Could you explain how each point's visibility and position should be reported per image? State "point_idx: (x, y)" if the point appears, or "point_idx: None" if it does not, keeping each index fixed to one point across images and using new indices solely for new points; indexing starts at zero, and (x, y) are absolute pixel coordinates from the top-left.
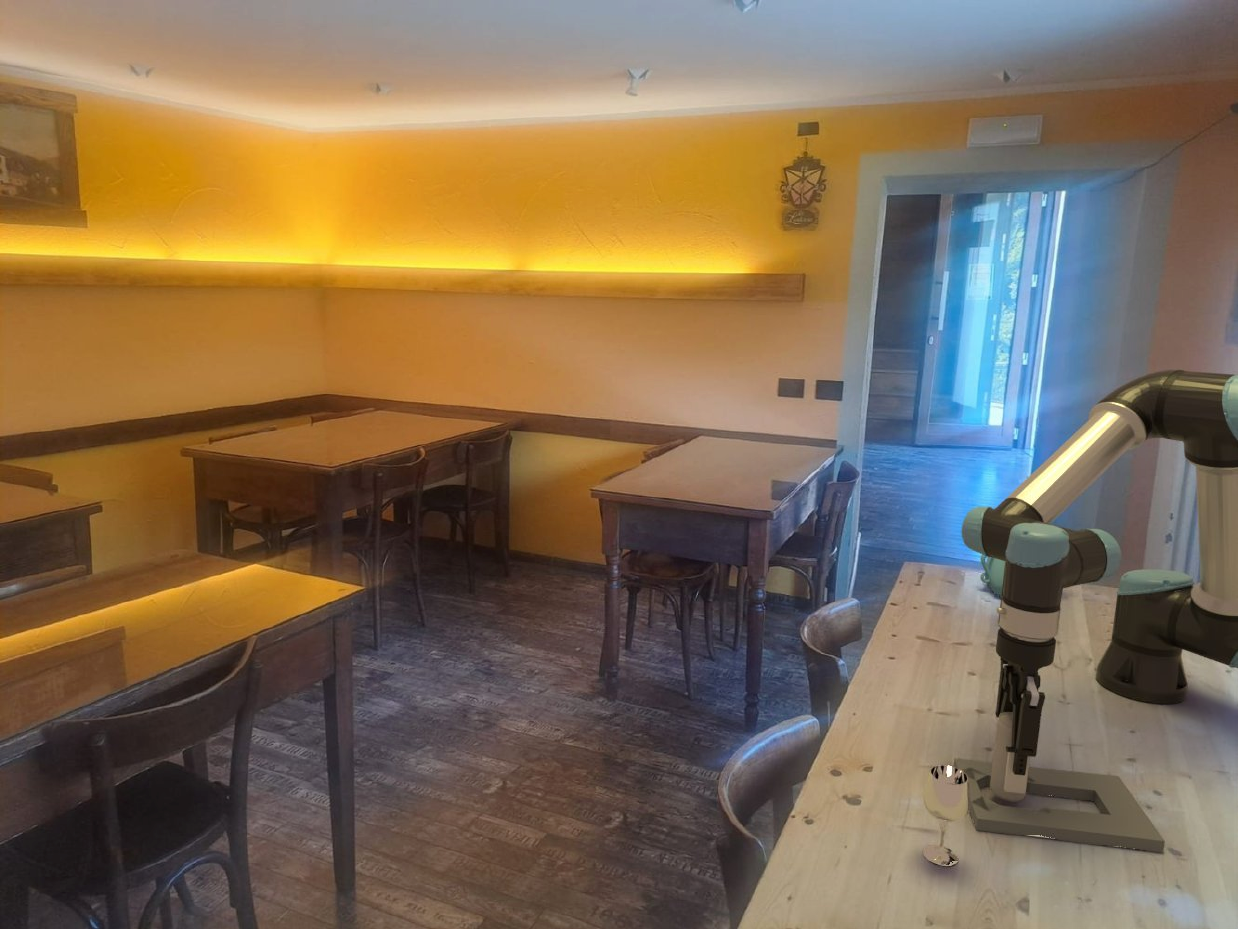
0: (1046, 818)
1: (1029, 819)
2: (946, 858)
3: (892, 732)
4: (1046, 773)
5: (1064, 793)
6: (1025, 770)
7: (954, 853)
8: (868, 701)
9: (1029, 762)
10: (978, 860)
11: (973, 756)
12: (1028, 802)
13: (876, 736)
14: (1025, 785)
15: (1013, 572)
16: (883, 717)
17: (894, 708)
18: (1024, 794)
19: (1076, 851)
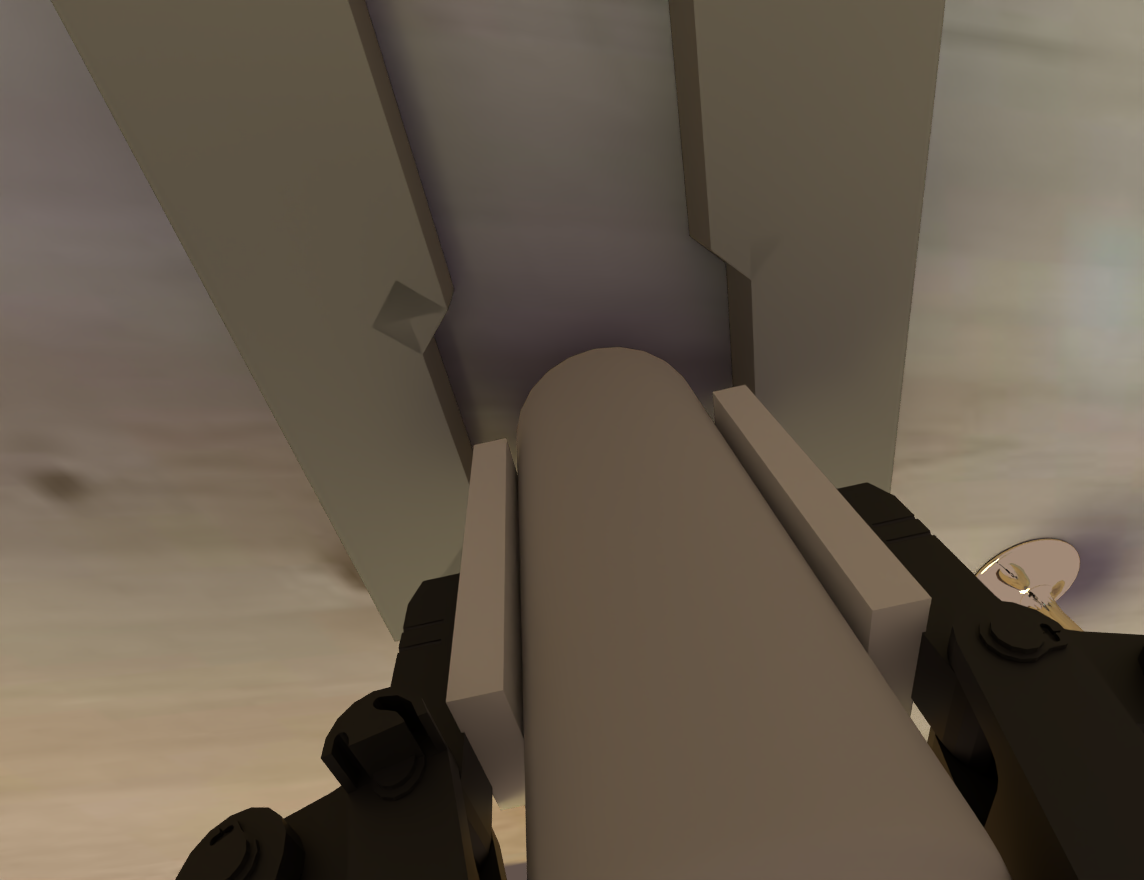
0: (833, 238)
1: (859, 330)
2: (1059, 575)
3: (242, 780)
4: (239, 196)
5: (379, 65)
6: (912, 514)
7: (1016, 553)
8: (41, 864)
9: (673, 460)
10: (1043, 484)
11: (214, 540)
12: (547, 296)
13: None
14: (769, 414)
15: None
16: (137, 816)
17: (11, 807)
18: (654, 361)
19: (971, 59)
